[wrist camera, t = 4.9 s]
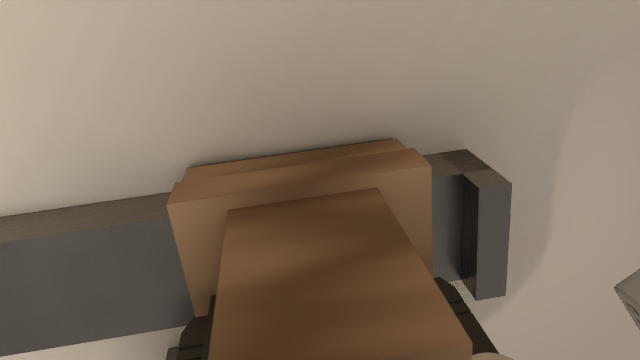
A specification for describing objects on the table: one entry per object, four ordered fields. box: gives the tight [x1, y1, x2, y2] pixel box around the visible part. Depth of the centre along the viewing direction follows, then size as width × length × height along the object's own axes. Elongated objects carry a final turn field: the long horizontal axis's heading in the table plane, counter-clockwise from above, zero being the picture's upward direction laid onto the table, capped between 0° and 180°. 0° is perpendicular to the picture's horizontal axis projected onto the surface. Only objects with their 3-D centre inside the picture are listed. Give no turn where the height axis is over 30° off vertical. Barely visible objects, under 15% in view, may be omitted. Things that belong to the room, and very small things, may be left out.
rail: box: [0, 149, 512, 357], centre depth 15 cm, size 20×4×3 cm, turn 96°
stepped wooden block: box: [166, 139, 473, 360], centre depth 12 cm, size 7×6×10 cm
